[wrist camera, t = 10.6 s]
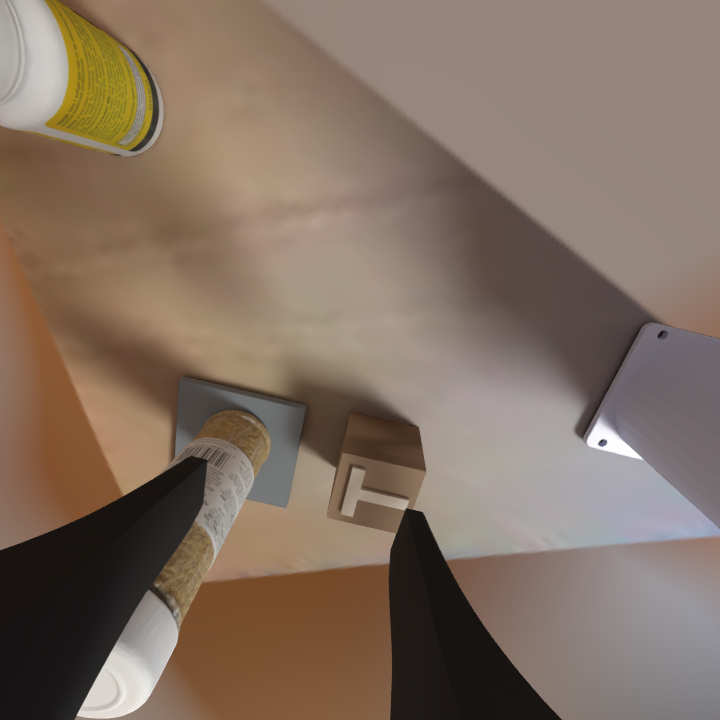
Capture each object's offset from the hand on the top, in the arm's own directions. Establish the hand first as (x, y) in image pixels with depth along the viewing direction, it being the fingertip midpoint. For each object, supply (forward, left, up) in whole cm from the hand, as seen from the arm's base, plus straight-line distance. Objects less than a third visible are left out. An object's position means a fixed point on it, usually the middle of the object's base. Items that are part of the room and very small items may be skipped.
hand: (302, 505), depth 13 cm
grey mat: (+6, +6, -10) cm, 13 cm away
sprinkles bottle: (+5, +5, -10) cm, 12 cm away
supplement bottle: (+14, -12, -11) cm, 21 cm away
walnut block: (-3, +4, -10) cm, 12 cm away
